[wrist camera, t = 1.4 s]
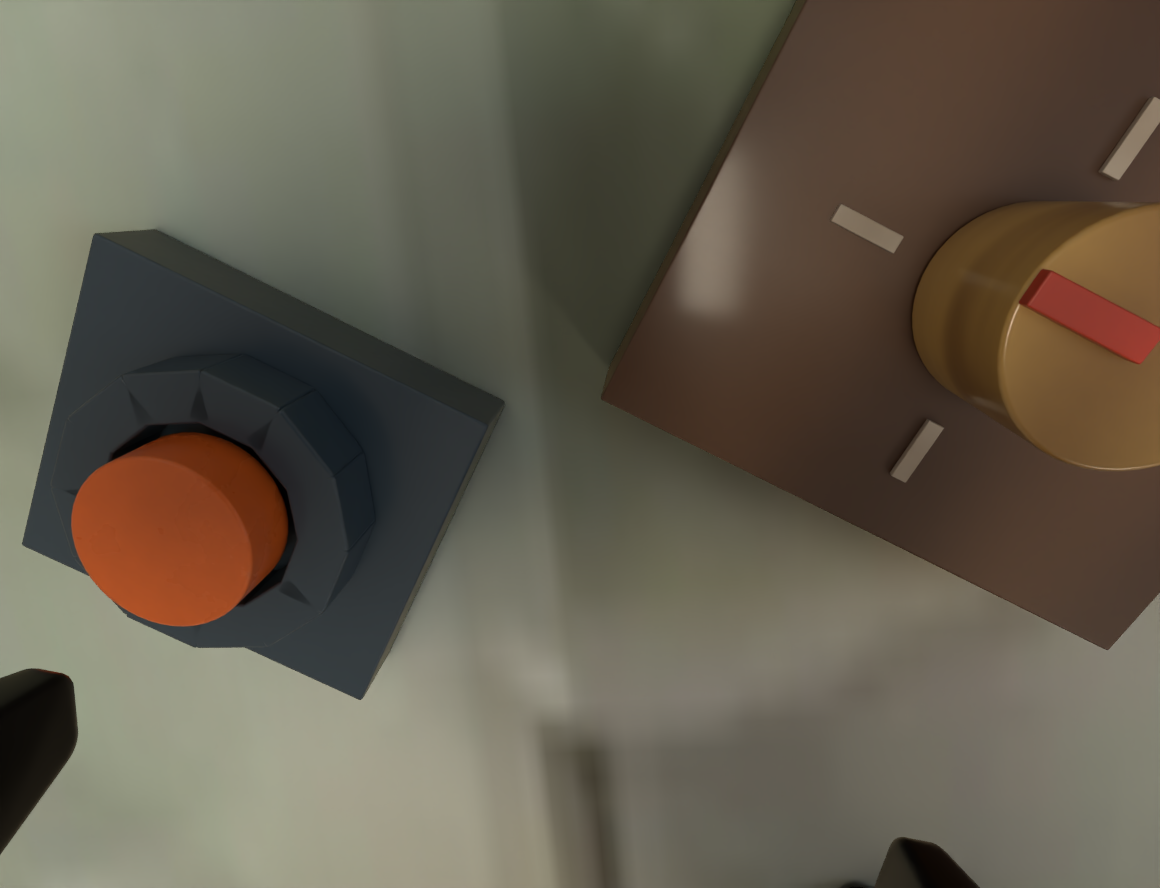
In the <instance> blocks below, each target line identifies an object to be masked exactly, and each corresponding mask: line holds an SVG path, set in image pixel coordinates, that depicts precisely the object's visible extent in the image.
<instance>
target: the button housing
mask: <svg viewBox="0 0 1160 888" xmlns="http://www.w3.org/2000/svg"><path fill="white" fill-rule="evenodd" d="M504 405H505V402H504V401H503V400H501V399H499V398H497V397H495V396H493V395H491V394H489V393H487V392H484V391H482V390H480V389H478V388H476V387H474V386H472V385H470V384H468V383H466V382H464V381H462V380H460V379H458V378H456V377H454V376H452V375H450V374H448V373H446V372H444V371H442V370H440V369H438V368H436V367H434V366H432V365H430V364H428V363H425V362H423V361H421V360H419V359H417V358H415V357H413V356H411V355H409V354H407V353H405V352H403V351H401V350H399V349H397V348H395V347H393V346H391V345H389V344H387V343H385V342H383V341H381V340H379V339H377V338H375V337H373V336H371V335H369V334H366V333H364V332H362V331H360V330H358V329H356V328H354V327H352V326H350V325H348V324H346V323H344V322H342V321H340V320H338V319H336V318H334V317H332V316H330V315H328V314H326V313H324V312H322V311H320V310H318V309H316V308H314V307H312V306H310V305H307V304H305V303H303V302H301V301H299V300H297V299H295V298H293V297H291V296H289V295H287V294H285V293H283V292H281V291H279V290H277V289H275V288H273V287H271V286H269V285H267V284H265V283H263V282H261V281H259V280H257V279H255V278H253V277H251V276H248V275H246V274H244V273H242V272H240V271H238V270H236V269H234V268H232V267H230V266H228V265H226V264H224V263H222V262H220V261H218V260H216V259H214V258H212V257H210V256H208V255H206V254H204V253H202V252H200V251H198V250H196V249H194V248H192V247H189V246H187V245H185V244H183V243H181V242H179V241H177V240H175V239H173V238H171V237H169V236H167V235H165V234H163V233H161V232H159V231H157V230H140V231H124V232H109V233H95V234H94V236H93V239H92V244H91V248H90V252H89V257H88V261H87V265H86V270H85V274H84V278H83V283H82V287H81V291H80V296H79V300H78V304H77V308H76V313H75V317H74V321H73V326H72V330H71V334H70V339H69V343H68V347H67V352H66V356H65V360H64V365H63V369H62V373H61V378H60V382H59V386H58V391H57V395H56V399H55V404H54V408H53V412H52V417H51V421H50V425H49V430H48V434H47V438H46V443H45V447H44V451H43V456H42V460H41V464H40V469H39V473H38V477H37V482H36V486H35V490H34V495H33V499H32V503H31V507H30V512H29V516H28V520H27V525H26V529H25V533H24V538H23V542H22V544H23V546H25V547H27V548H29V549H32V550H34V551H36V552H38V553H40V554H42V555H45V556H47V557H49V558H51V559H53V560H56V561H58V562H60V563H62V564H64V565H66V566H69V567H71V568H73V569H75V570H77V571H80V572H82V573H84V574H86V575H88V576H89V574H88V573H87V571H86V570H85V568H84V566H83V564H82V562H81V561H80V559H79V556H78V553H77V551H76V548H75V545H74V541H73V537H72V528H71V515H72V509H73V504H74V501H75V498H76V495H77V493H78V492H79V490H80V488H81V486H82V484H83V483H84V482H85V481H86V479H87V478H88V477H89V476H90V475H91V474H92V473H93V472H94V471H95V470H96V469H98V468H100V467H101V466H103V465H104V464H106V463H108V462H110V461H112V460H114V459H116V458H118V457H120V456H123V455H125V454H127V453H129V452H131V451H133V450H135V449H137V448H139V447H141V446H143V445H145V444H147V443H149V442H151V441H153V440H155V439H158V438H160V437H162V436H165V435H169V434H173V433H181V432H196V433H203V434H209V435H212V436H216V437H220V438H222V439H224V440H227V441H229V442H231V443H233V444H235V445H237V446H239V447H241V448H242V449H243V450H245V451H246V452H248V453H249V454H250V455H252V456H253V457H254V458H255V459H256V460H257V461H258V462H260V464H261V465H262V466H263V467H264V468H265V469H266V470H267V471H268V473H269V474H270V475H271V477H272V478H273V479H274V481H275V483H276V485H277V486H278V488H279V490H280V492H281V494H282V497H283V499H284V502H285V506H286V509H287V515H288V538H287V543H286V547H285V550H284V553H283V555H282V557H281V559H280V561H279V562H278V563H277V565H276V566H275V568H274V569H273V570H272V571H271V572H270V573H269V574H268V575H267V576H266V577H265V578H264V579H263V580H262V581H261V582H260V583H259V584H258V585H257V586H256V587H255V588H254V589H253V590H252V591H251V592H250V593H249V594H247V595H246V596H245V597H244V598H243V599H242V600H241V601H240V602H239V603H238V604H237V605H236V606H235V607H234V608H233V609H232V610H231V611H229V612H228V613H227V614H225V615H224V616H222V617H220V618H218V619H216V620H214V621H211V622H208V623H205V624H200V625H195V626H184V627H182V626H169V625H163V624H159V623H155V622H151V621H148V620H146V619H143V618H141V617H138V616H136V615H135V614H133V613H131V612H129V611H127V610H126V609H124V608H122V607H121V606H119V605H118V604H117V603H115V602H114V601H113V600H112V599H111V600H112V601H113V602H114V603H115V604H116V605H117V606H118V607H119V608H120V609H121V610H122V611H123V613H125V614H127V617H129V618H131V619H133V620H135V621H138V622H140V623H142V624H144V625H146V626H148V627H151V628H153V629H155V630H157V631H159V632H162V633H164V634H166V635H168V636H170V637H173V638H175V639H177V640H179V641H181V642H183V643H186V644H188V645H190V646H192V647H198V648H232V647H245V648H247V649H250V650H252V651H254V652H256V653H258V654H260V655H263V656H265V657H267V658H269V659H271V660H273V661H276V662H278V663H280V664H282V665H284V666H287V667H289V668H291V669H293V670H295V671H297V672H300V673H302V674H304V675H306V676H308V677H311V678H313V679H315V680H317V681H319V682H321V683H324V684H326V685H328V686H330V687H332V688H335V689H337V690H339V691H341V692H343V693H345V694H348V695H350V696H352V697H354V698H356V699H358V700H361V699H362V698H363V697H364V695H365V694H366V692H367V690H368V688H369V687H370V685H371V683H372V682H373V680H374V678H375V676H376V675H377V673H378V671H379V669H380V668H381V666H382V664H383V663H384V661H385V659H386V657H387V656H388V654H389V652H390V650H391V647H392V645H393V643H394V641H395V639H396V637H397V635H398V632H399V630H400V628H401V626H402V624H403V622H404V620H405V617H406V615H407V613H408V611H409V609H410V607H411V605H412V602H413V600H414V598H415V596H416V594H417V592H418V590H419V587H420V585H421V583H422V581H423V579H424V577H425V575H426V572H427V570H428V568H429V566H430V564H431V562H432V560H433V557H434V555H435V553H436V551H437V549H438V547H439V545H440V542H441V540H442V538H443V536H444V534H445V532H446V530H447V527H448V525H449V523H450V521H451V519H452V517H453V515H454V512H455V510H456V508H457V506H458V504H459V502H460V500H461V497H462V495H463V493H464V491H465V489H466V487H467V485H468V482H469V480H470V478H471V476H472V474H473V472H474V470H475V467H476V465H477V463H478V461H479V459H480V457H481V455H482V452H483V450H484V448H485V446H486V444H487V442H488V440H489V437H490V435H491V433H492V431H493V429H494V427H495V425H496V422H497V420H498V418H499V416H500V414H501V412H502V410H503V407H504Z"/></svg>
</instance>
